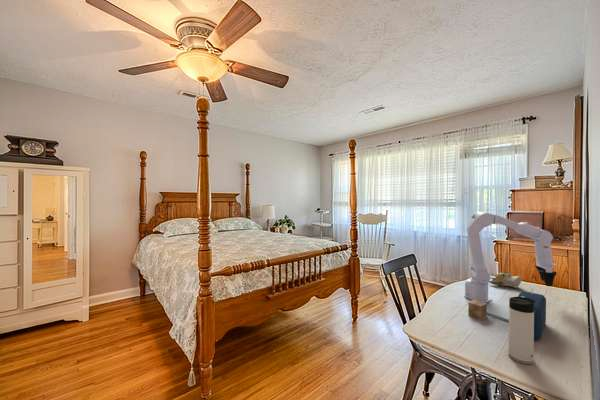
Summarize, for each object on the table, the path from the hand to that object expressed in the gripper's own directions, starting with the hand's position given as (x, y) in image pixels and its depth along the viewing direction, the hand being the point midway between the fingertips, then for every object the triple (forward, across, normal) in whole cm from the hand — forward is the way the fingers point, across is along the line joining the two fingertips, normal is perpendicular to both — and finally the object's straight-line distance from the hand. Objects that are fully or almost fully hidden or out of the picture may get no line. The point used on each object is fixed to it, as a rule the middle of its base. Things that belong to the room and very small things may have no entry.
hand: (546, 283), depth 124 cm
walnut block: (+7, -29, +29) cm, 42 cm away
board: (+8, -20, +20) cm, 30 cm away
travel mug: (+7, -57, +18) cm, 60 cm away
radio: (+9, -31, +12) cm, 35 cm away
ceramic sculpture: (+10, +22, +15) cm, 28 cm away
